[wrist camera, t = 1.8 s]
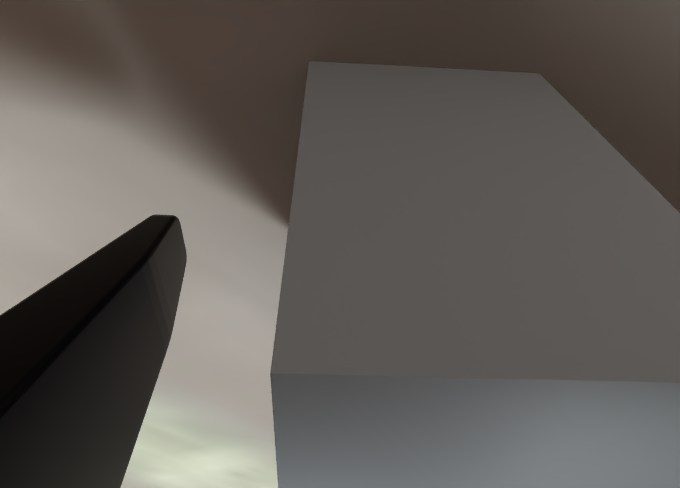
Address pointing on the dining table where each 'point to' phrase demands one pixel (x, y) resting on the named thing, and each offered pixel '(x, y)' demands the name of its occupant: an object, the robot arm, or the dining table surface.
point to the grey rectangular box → (471, 292)
